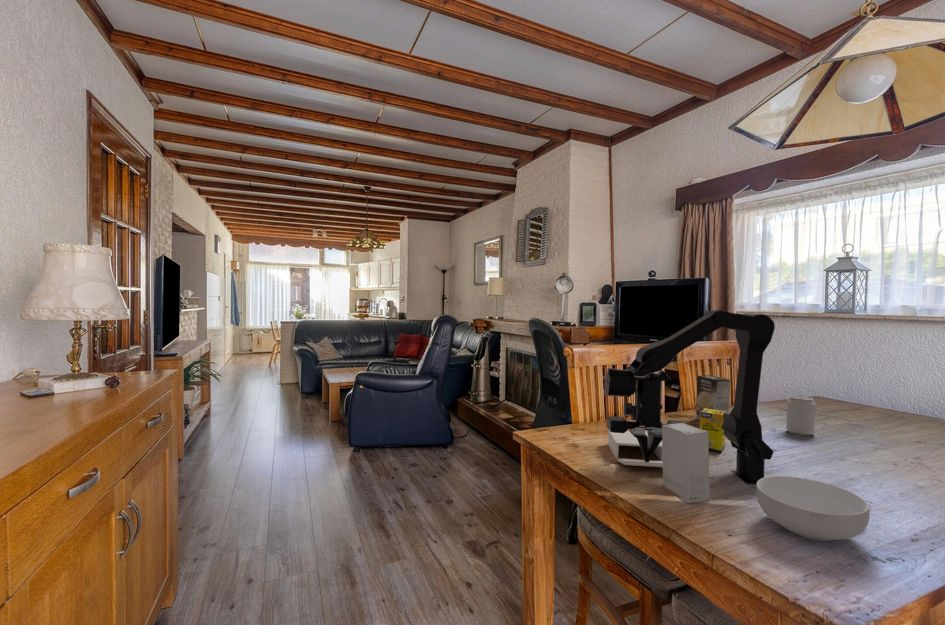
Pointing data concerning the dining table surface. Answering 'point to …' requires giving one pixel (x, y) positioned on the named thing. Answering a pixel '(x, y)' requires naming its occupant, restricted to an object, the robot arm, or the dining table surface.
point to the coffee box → (712, 394)
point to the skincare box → (686, 462)
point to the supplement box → (713, 428)
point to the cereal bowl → (812, 508)
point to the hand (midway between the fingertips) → (646, 461)
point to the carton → (628, 442)
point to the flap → (640, 462)
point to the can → (801, 415)
